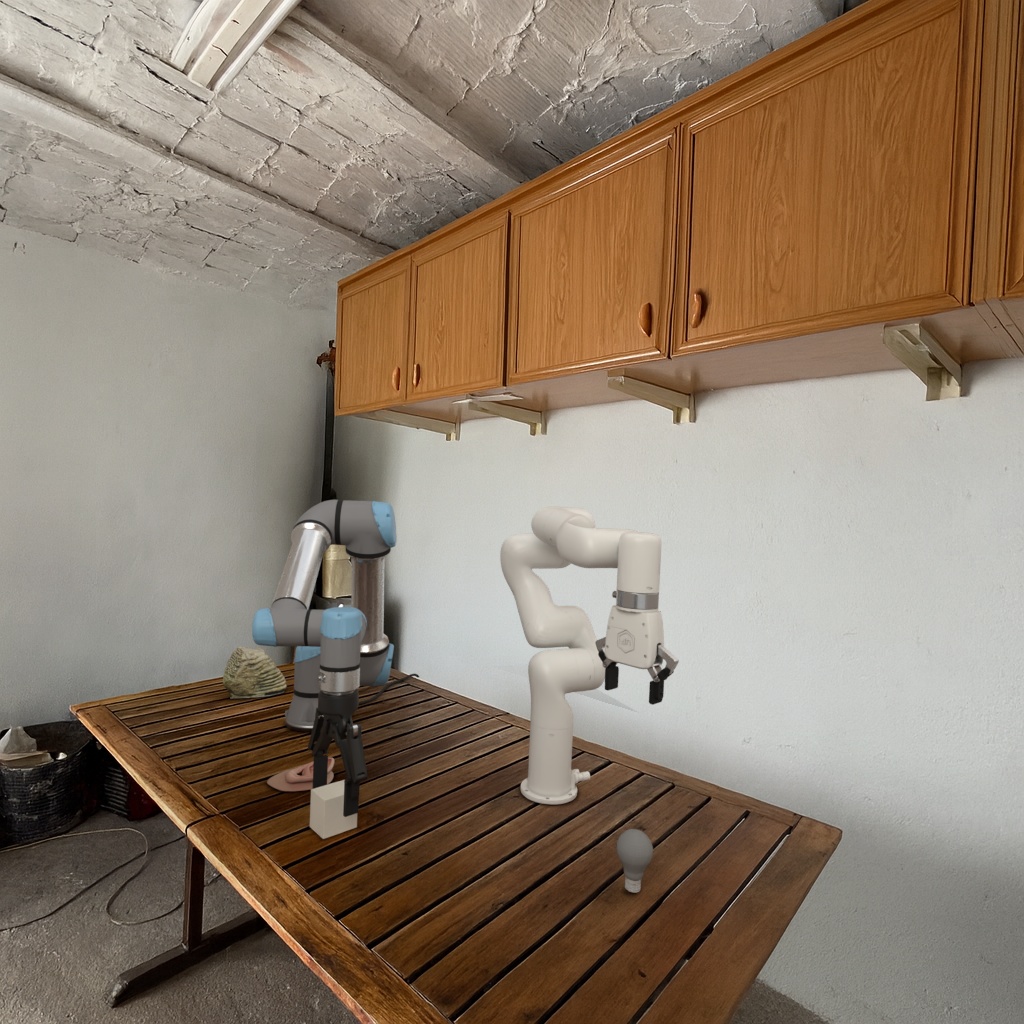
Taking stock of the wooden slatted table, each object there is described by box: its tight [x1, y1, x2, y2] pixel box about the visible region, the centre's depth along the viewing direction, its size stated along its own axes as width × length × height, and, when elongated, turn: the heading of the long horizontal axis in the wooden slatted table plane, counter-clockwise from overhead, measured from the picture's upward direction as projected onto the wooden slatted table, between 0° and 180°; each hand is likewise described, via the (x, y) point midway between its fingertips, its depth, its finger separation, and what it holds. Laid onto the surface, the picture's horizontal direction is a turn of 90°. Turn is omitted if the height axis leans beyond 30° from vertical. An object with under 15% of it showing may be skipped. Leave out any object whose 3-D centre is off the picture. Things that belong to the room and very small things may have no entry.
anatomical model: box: [266, 757, 335, 792], centre depth 140 cm, size 13×4×12 cm
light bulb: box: [615, 828, 654, 894], centre depth 106 cm, size 6×6×10 cm
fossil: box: [222, 646, 288, 699], centre depth 198 cm, size 9×18×15 cm, turn 132°
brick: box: [309, 779, 358, 840], centre depth 122 cm, size 6×7×7 cm
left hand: (334, 801), depth 122 cm, fingers open, 12 cm apart
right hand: (632, 695), depth 114 cm, fingers open, 9 cm apart
